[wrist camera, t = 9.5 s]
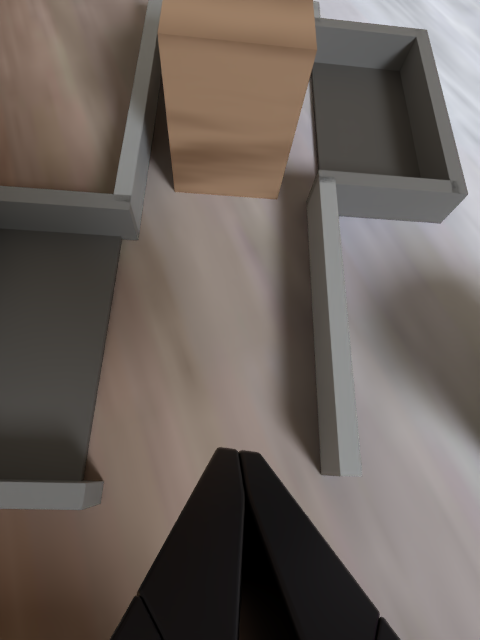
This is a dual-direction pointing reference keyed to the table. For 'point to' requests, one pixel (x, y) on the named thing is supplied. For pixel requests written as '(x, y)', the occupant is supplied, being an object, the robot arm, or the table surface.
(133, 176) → the bent walled tray
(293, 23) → the walnut block
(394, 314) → the table surface
